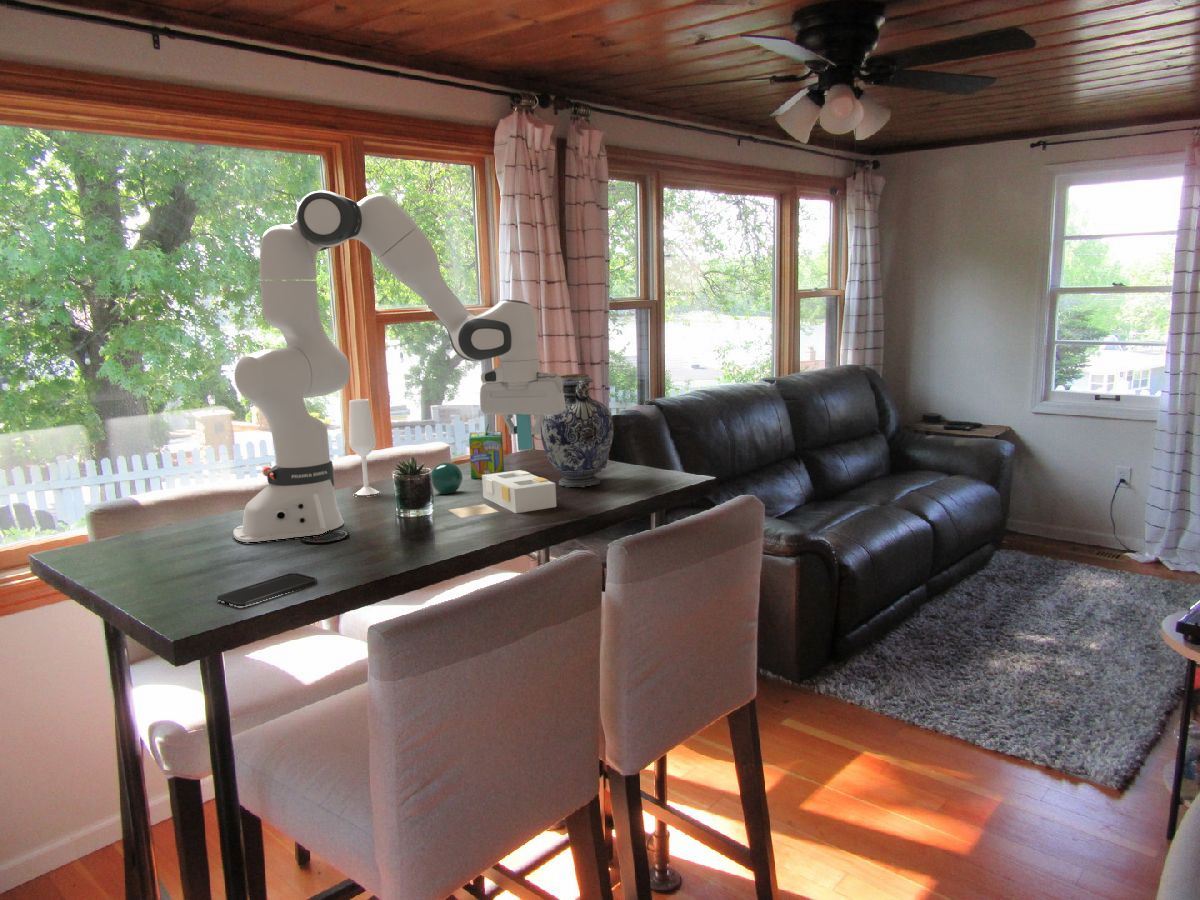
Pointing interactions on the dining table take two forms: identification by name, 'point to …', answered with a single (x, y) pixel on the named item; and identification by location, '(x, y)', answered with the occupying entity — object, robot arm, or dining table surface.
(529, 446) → the plug
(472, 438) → the chalk box
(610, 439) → the decorative vase
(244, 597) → the phone
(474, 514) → the coaster
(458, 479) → the sphere
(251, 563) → the dining table surface
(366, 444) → the champagne flute
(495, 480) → the block
